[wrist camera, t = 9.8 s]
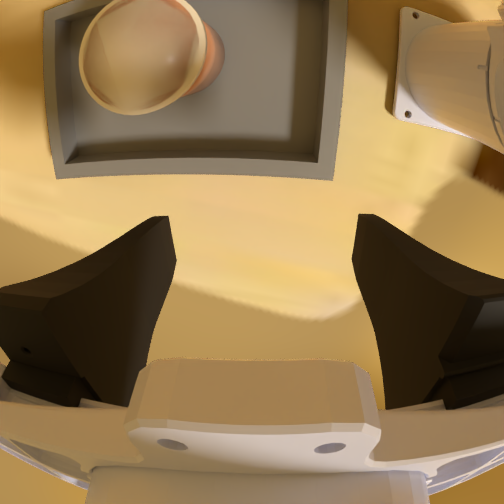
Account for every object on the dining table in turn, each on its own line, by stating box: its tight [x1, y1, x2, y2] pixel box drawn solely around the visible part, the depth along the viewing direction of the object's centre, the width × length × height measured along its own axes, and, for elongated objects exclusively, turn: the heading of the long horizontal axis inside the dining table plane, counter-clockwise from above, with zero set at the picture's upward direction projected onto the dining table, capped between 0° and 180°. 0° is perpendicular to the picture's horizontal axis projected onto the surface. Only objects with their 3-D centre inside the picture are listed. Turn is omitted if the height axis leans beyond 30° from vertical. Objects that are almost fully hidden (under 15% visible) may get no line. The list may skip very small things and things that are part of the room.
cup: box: [79, 0, 225, 115], centre depth 12 cm, size 5×5×7 cm
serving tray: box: [43, 0, 348, 181], centre depth 15 cm, size 18×12×2 cm, turn 88°
